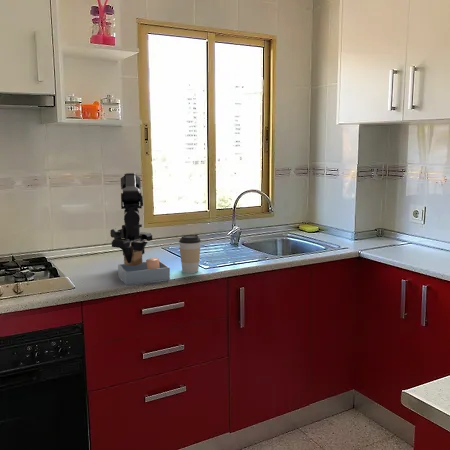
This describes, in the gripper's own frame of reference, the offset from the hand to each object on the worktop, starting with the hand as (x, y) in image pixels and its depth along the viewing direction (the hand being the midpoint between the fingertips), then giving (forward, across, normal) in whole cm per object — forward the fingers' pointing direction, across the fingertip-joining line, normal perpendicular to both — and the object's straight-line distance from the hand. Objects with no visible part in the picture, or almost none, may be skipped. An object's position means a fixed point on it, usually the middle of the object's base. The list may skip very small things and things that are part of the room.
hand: (133, 261), depth 198 cm
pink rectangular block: (+6, -3, +8) cm, 10 cm away
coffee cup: (+7, -20, +14) cm, 25 cm away
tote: (+7, -1, +4) cm, 8 cm away
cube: (+1, 0, 0) cm, 1 cm away
